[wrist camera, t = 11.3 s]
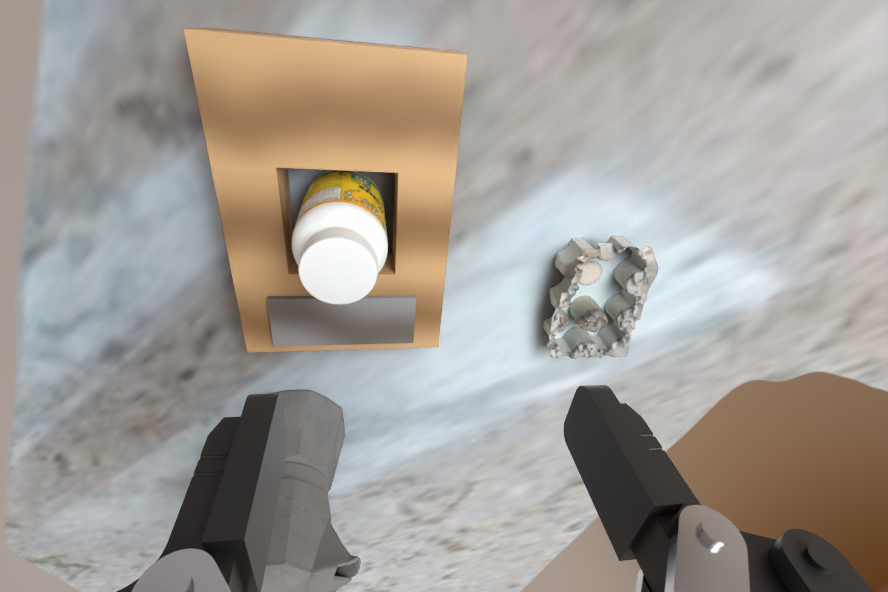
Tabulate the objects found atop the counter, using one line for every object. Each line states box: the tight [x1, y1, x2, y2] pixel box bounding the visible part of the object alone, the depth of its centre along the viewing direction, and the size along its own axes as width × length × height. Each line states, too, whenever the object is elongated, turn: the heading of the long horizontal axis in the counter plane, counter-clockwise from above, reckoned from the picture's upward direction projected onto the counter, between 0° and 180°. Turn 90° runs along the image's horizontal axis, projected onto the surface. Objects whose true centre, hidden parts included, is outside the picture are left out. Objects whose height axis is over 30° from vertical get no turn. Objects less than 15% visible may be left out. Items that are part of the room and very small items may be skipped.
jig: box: [184, 28, 467, 352], centre depth 29 cm, size 20×14×4 cm
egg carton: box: [543, 236, 658, 359], centre depth 36 cm, size 11×8×4 cm
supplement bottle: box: [292, 170, 388, 305], centre depth 26 cm, size 5×5×10 cm
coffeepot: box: [261, 390, 361, 592], centre depth 33 cm, size 15×9×18 cm, turn 110°
